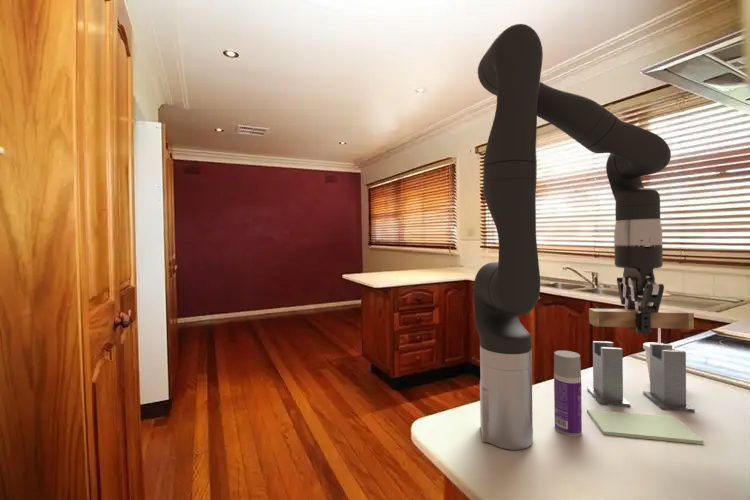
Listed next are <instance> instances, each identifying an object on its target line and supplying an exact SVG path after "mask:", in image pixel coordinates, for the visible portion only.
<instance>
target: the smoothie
mask: <svg viewBox="0 0 750 500" xmlns="http://www.w3.org/2000/svg"><path fill="white" fill-rule="evenodd" d="M661 332H662V328H657V342H654V341H653V342H644V343H643V344H642V345H643V346H642V348H643V350H644V352H645V361H646V365H647V371H648V378H649V380H650V343H652V344H664V343H663V342H662V341H661V340H662V338H661V337H662V336H661V335H662V333H661ZM672 350H676V347H674V346H673V345H672Z"/></svg>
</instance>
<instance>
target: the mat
mask: <svg viewBox="0 0 750 500" xmlns="http://www.w3.org/2000/svg"><path fill="white" fill-rule="evenodd" d="M586 413H587V415H588V416H589V417H590V418H591V420H592V421H593V422H594V424H595V425H596V426H597V428H598V429H599V431H600V432H601V433H602V435H606V436H616V437H626V438H627V437H628V438H635V439H636V438H637V439H647V440H657V441H667V442H678V443H685V444H686V443H687V444H688V443H689V444H698V445H704V443H705V441H704V440H703V439H702V438H701V437H699V436H698V435H697V434H696V433H695V432H694V431H692V430H691V429H690V428H689V427H687V426H686V425H685V424H684V423H682V422H681V421H680V420H678V418H676V417H675V416H670V415H658V414H647V413H636V412H632V413H631V412H623V411H612V410H611V411H609V410H599V409H586Z"/></svg>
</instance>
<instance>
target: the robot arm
mask: <svg viewBox="0 0 750 500" xmlns="http://www.w3.org/2000/svg"><path fill="white" fill-rule="evenodd" d="M542 45H543V44H542V42H541V39H540V36H539V35H538V33H537V31H536V30H535V29H533V28H532V27H531V26H529V25H527V24H524V23H516V24H513V25H510V26H508V27H507V28H506V29H504V30H503V31H501V33H500V34H498V36H497V37H496V38H495V39H494V41H493V42H492V43H491V44H490V47H489V48H488V49H487V50H486V52H485V54H483V56H482V58H481V59H480V61H479V63H478V66H477V76H478V80H479V83H480V84H481V86H482V87H483V88H484V89H485V90H486V91H487V92H488V93H490V94H492V95H494V96H495V97H496V106H495V107H496V108H495V112H494V118H493V121H492V125H491V127H490V131H489V135H488V139H487V143H486V148H485V152H484V157H483V171H482V173H483V187H482V188H483V197H484V199H485V203H486V206H487V208H488V210H489V213H490V214H489V215H491V219H492V221H493V223H494V225H495V228H496V229H495V230H496V232H497V233H496V234H497V238H498V261H493V262H488V263H486V264H484V265H482V267H480V268H479V270H478V271H477V273H476V275H475V277H474V280H473V309H474V323H475V327H476V328H475V330H476V331H477V334H478V337H479V362H480V363H479V366H480V368H479V369H480V370H479V371H480V380H479V406H480V407H479V408H480V410H479V412H480V413H479V414H480V415H479V416H480V419H479V420H480V432H481V441H482V442H483V443H489V444H491V445H493V446H495V447H498V448H501V449H506V450H518V451H519V450H523V449H527V448H529V447H531V445H532V444H533V442H534V424H533V423H534V421H533V412H534V411H533V365H532V364H533V362H532V361H533V356H532V353H533V352H532V335H531V333H530V332H529V331H528V330H527V329H526V327H525V326H524V325H523V323H521V321H520V319H519V317H518V316H524V315H527V314H529V313H530V312H531V311H532V310H533V309H534V308H536V307H535V306H536V305H537V303H538V301H539V297H540V292H541V275H540V273H541V272H540V265H539V264H540V263H539V256H538V255H539V254H538V253H539V252H538V243H537V213H536V212H537V208H536V207H537V204H536V203H537V201H536V200H537V198H536V194H537V179H538V178H537V175H538V174H537V171H538V170H537V167H538V164H537V135H538V134H537V133H538V132H537V131H538V130H537V128H538V118H540V119H542V120H544V121H546V122H547V123H549V124H551V125H552V126H553V127H555V128H558V130H561V132H563V133H565V134H566V135H567V136H569V137H570V138H571V139H573V140H574V141H576V142H577V143H579V145H582V147H584V148H585V149H586V150H589V151H590V152H592V153H594V154H609V155H608V157H607V160H606V164H605V171H606V172H605V173H606V175H607V179H608V183H609V186H610V189H611V193H612V196H613V198H614V201H615V225H614V232H613V233H614V234H613V238H614V239H613V241H614V242H613V243H614V245H613V246H614V265H615V267H617V268H622V269H623V274H622V276H617V278H616V284H617V290H618V295H619V299H620V303H621V305H624V309H635V311H636V313H637V314H636V327H627V328H629V330H630V329H631V330H635V331H636V333H638V334H647V335H648V334H651V329H652V328H651V314H653V313H658V310H660V306H661V303H662V300H663V299H662V297H663V294H664V291H665V285H664V283H657V282H656V277H655V274H654V269H660V268H662V267H663V257H664V256H663V227H662V221H661V197H660V196H661V195H660V193H659V192H658V191H657V190H656V189H653V188H646V187H645V186H644V185H643V182H642V177H646V176H650V175H653V174H654V175H655V174H656V173H659V172H660V171H662V170H664V169H665V168H666V167H668V165H669V163H670V161H671V158H672V157H671V156H672V152H671V148H670V146H669V144H668V143H667V142H666V141H665V139H664V138H662V137H661V136H659V135H658V134H656V133H654V132H652V131H650V130H648V129H645V128H644V127H643V128H642V127H640V126H637V125H636V124H632V123H629V122H625V121H623V120H621V119H620V118H619V117H617V116H616V115H615V114H613V113H612V112H611V111H610V110H608V109H607V108H605V107H604V106H603V105H601V104H600V103H598V102H597V101H594V99H591V98H588V97H586V96H583V95H579V94H575V93H572V92H568V91H565V90H564V91H563V90H561V89H558V88H556V87H555V88H554V87H553V86H550V85H547V84H545V83H543V82H542V81H541V77H542V76H541V75H542V74H541V73H542V67H543V66H542V65H543V56H544V55H543V53H544V52H543V46H542Z"/></svg>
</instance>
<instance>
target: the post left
mask: <svg viewBox="0 0 750 500" xmlns="http://www.w3.org/2000/svg"><path fill="white" fill-rule="evenodd" d="M623 355H624V354H623V348H621V347H614V342H612V341H604V340H603V341H602V340H601V341H600V340H598V341H597V340H593V341H592V373H593V374H592V377H593V378H592V380H593V381H592V384H593V385H592V387H588V386H587V388H586V389H587V391H588V393H590V395H591V396H592V398H593V399H594V400H595V401H597V403H598V405H600V406H601V405H602V406H616V407H628V408H629V407H631V404H630V402H629V401H627V399H626V398H625V397H624V379H623V378H624V366H623V365H624V362H623V361H624V360H623V359H624V357H623Z"/></svg>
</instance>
